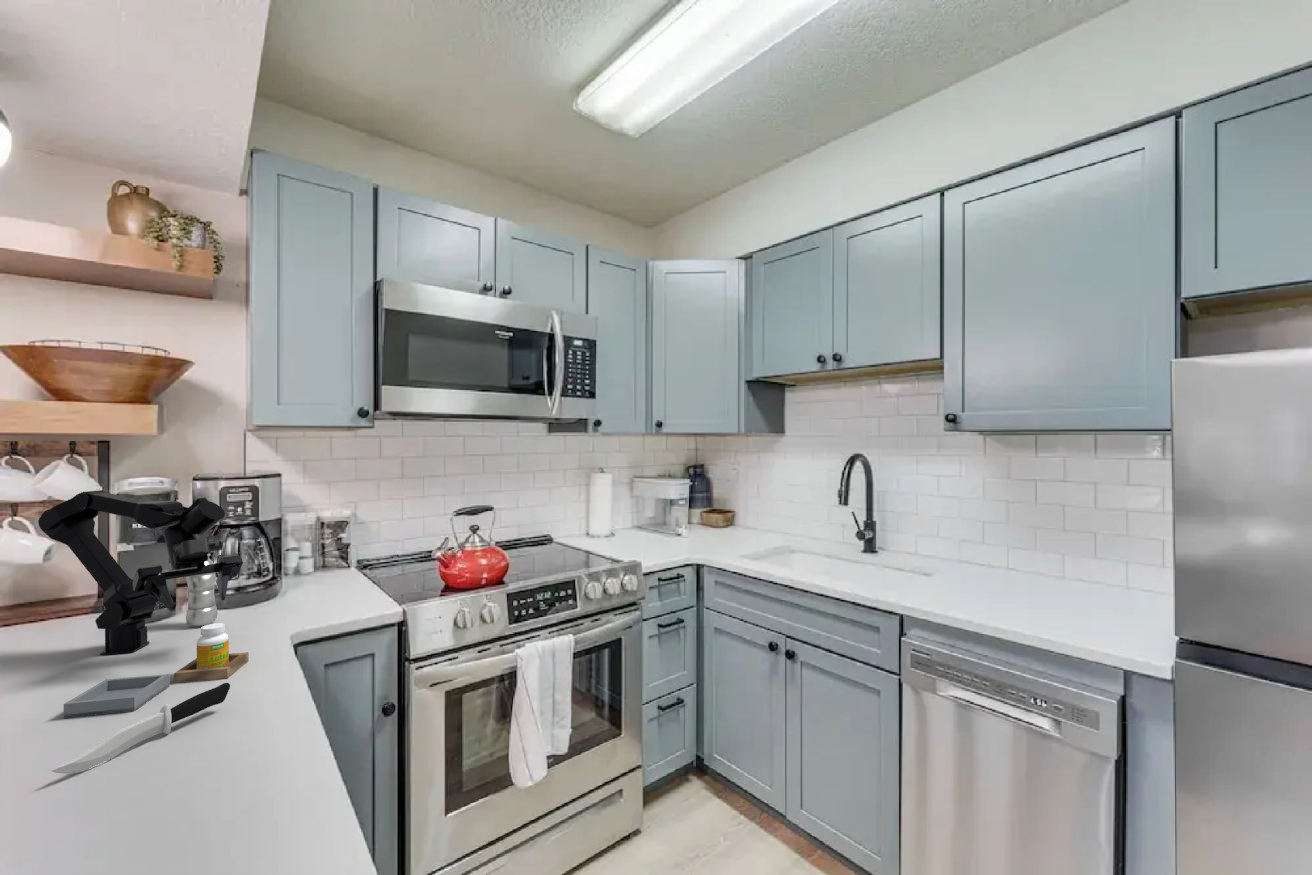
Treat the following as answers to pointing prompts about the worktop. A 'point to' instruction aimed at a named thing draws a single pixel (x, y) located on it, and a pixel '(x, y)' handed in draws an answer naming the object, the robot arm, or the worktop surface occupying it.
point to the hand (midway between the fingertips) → (198, 603)
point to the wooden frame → (211, 670)
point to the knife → (144, 730)
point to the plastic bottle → (201, 598)
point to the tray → (116, 695)
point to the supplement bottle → (212, 647)
